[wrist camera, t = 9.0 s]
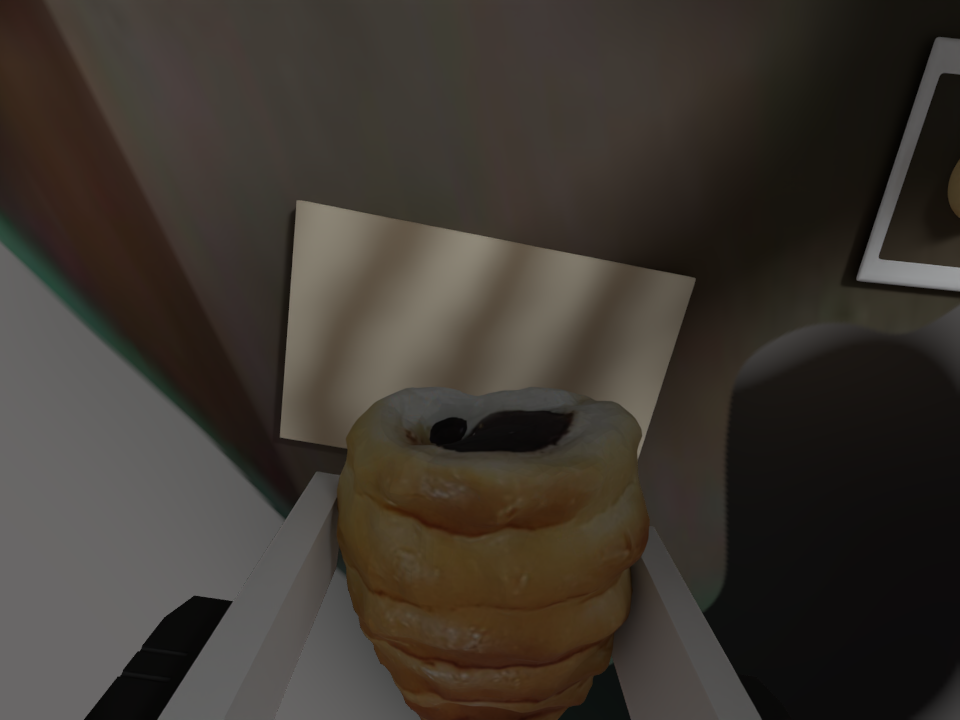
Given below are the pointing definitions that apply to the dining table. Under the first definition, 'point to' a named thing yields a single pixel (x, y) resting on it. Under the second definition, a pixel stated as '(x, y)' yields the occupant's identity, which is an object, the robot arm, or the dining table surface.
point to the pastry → (492, 545)
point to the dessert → (942, 59)
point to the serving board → (462, 320)
